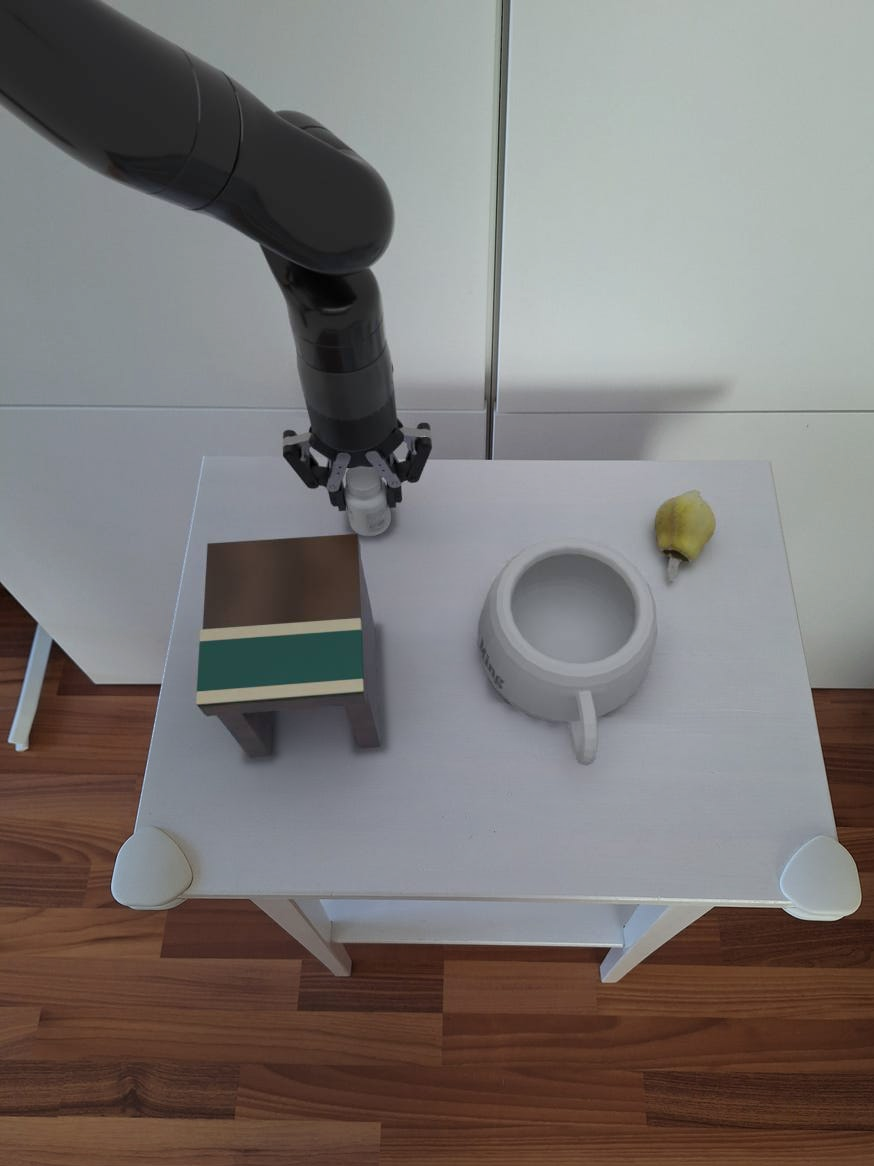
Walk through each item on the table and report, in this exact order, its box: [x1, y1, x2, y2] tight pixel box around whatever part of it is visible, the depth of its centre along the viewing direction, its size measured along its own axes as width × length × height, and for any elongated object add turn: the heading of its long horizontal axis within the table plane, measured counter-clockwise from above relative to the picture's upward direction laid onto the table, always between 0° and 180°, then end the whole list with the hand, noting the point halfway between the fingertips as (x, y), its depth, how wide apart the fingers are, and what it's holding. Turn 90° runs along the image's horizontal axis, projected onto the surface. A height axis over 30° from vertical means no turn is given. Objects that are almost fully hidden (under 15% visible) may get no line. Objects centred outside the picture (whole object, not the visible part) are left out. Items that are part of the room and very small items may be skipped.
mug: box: [476, 536, 658, 767], centre depth 72 cm, size 21×17×10 cm
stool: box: [198, 533, 382, 758], centre depth 68 cm, size 12×14×16 cm
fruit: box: [653, 489, 717, 584], centre depth 81 cm, size 6×6×10 cm
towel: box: [195, 618, 364, 708], centre depth 59 cm, size 12×6×1 cm, turn 96°
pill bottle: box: [344, 466, 392, 537], centre depth 80 cm, size 4×4×8 cm
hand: (367, 501), depth 81 cm, fingers closed on pill bottle, 4 cm apart
